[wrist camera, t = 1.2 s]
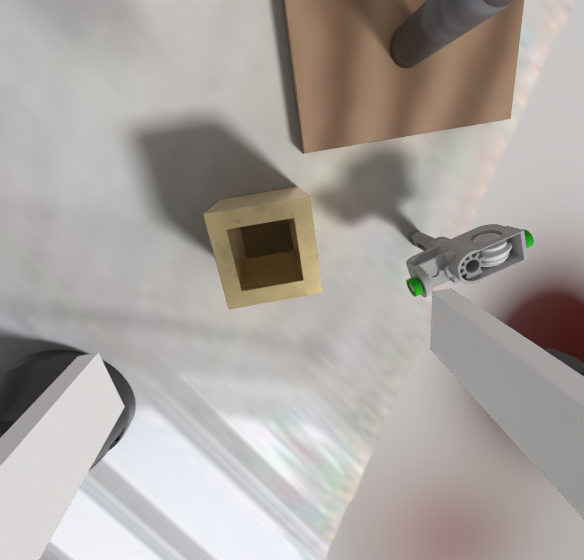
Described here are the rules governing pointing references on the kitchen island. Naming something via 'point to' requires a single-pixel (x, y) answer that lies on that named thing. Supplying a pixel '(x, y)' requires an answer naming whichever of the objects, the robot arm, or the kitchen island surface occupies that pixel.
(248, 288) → the hollow square tube
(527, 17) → the kitchen island surface
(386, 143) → the kitchen island surface
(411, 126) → the wooden base with rod
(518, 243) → the mechanical component
